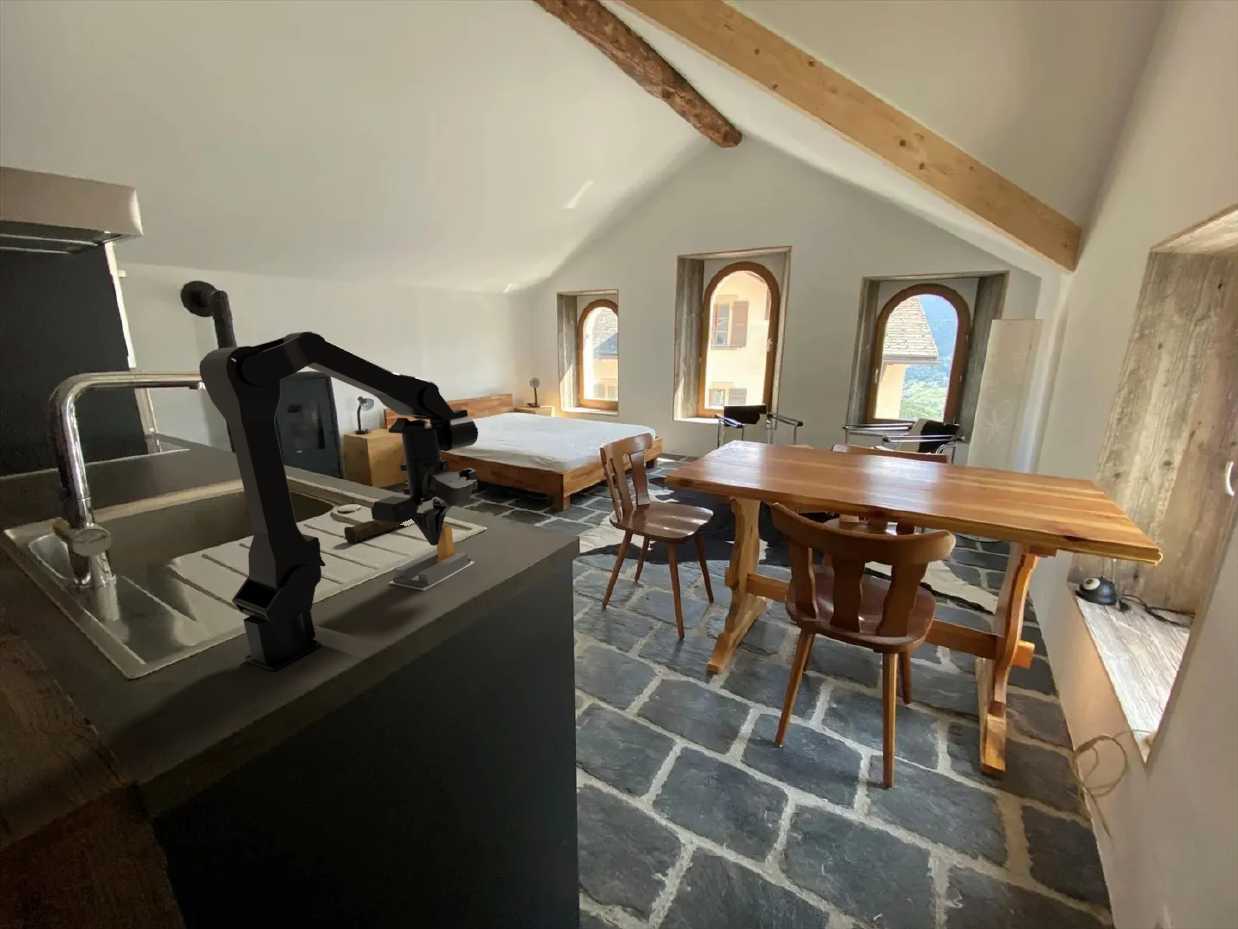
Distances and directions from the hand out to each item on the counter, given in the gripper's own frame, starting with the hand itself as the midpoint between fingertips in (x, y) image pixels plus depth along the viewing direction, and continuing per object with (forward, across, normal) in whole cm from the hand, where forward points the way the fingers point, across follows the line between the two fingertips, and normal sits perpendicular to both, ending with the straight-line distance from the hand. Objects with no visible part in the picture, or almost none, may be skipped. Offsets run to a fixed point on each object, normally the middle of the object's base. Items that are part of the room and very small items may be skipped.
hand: (434, 544), depth 89 cm
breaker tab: (+5, +2, 0) cm, 5 cm away
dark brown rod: (+7, +16, +31) cm, 36 cm away
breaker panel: (+6, -1, 0) cm, 6 cm away
